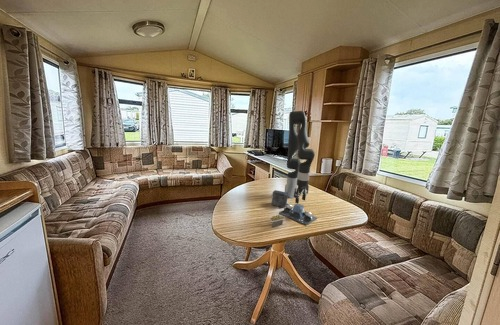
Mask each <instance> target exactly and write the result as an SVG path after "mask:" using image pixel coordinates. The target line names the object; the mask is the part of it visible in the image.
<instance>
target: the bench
mask: <svg viewBox="0 0 500 325" xmlns="http://www.w3.org/2000/svg"><path fill="white" fill-rule="evenodd" d="M293 207H294V205H291V204H288V203H287V204H286V206H285V208H283V210H280V211H279V212H278V213H279V214H278V215H281V216H283V217H285V218H288V219H290V220H293V221H295V222H297V223H300V224H302V225H304V226H308V225H309V224H312V222H315V221H317V219H318V217H317V216H314V214H313V213H312V212H310V211H307V210H304V212H303V215H302V216H300V215H297V214H295V213H294V209H293Z"/></svg>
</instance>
